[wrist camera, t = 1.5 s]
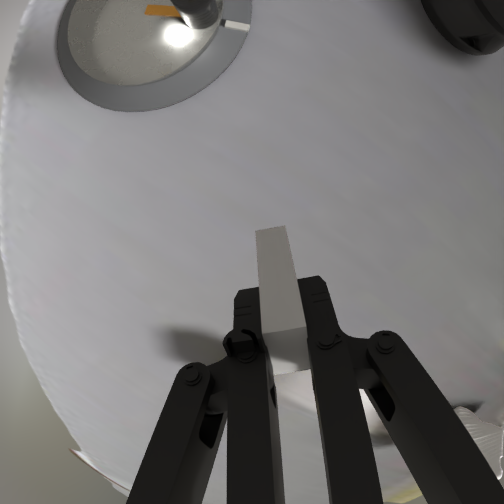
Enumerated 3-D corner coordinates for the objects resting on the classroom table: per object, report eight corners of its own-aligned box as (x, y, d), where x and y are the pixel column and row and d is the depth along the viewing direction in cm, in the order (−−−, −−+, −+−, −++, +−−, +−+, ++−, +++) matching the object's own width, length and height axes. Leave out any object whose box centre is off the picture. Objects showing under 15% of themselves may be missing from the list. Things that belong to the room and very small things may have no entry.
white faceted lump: (450, 401, 58) (489, 478, 34) (491, 404, 63) (524, 463, 40) (397, 447, 66) (421, 520, 42) (446, 445, 71) (470, 502, 48)
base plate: (179, -80, 19) (177, -87, 18) (294, 31, 28) (296, 27, 26) (36, 32, 25) (29, 30, 23) (126, 152, 33) (121, 154, 31)
